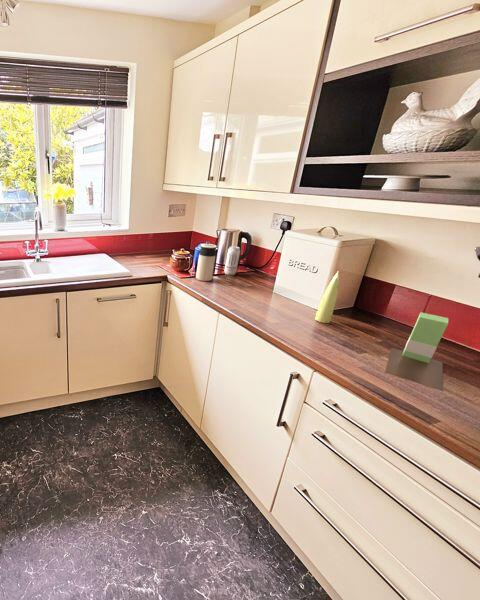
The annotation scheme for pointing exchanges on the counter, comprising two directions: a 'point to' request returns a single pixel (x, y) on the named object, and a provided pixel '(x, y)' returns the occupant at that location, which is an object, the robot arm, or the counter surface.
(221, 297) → the counter surface
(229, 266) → the white bottle
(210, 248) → the travel mug
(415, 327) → the block
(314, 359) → the counter surface
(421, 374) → the stand
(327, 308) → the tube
